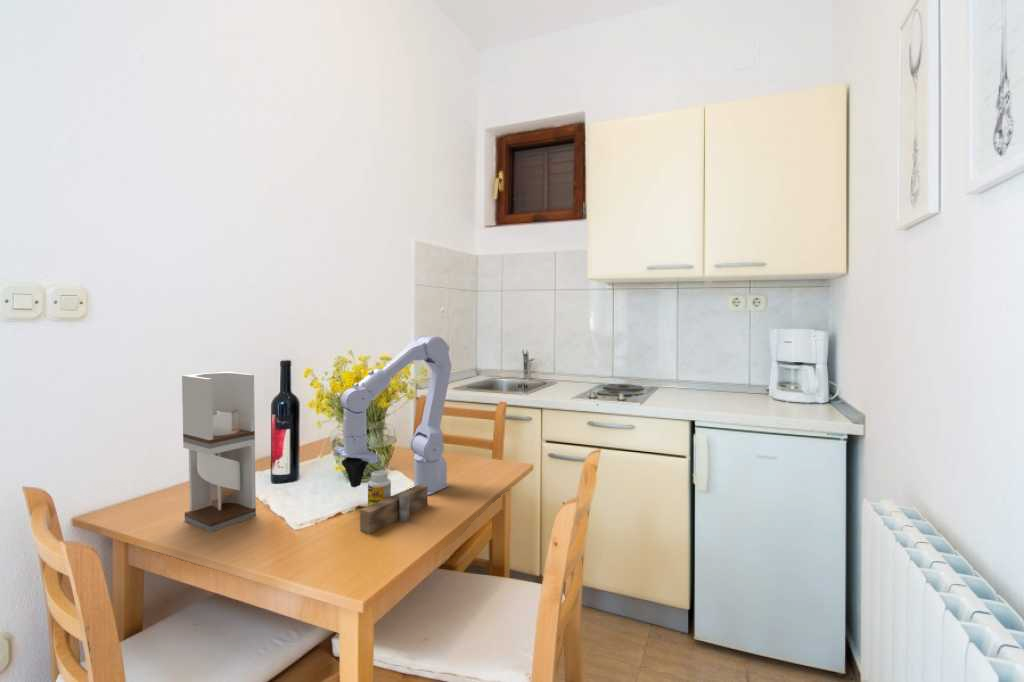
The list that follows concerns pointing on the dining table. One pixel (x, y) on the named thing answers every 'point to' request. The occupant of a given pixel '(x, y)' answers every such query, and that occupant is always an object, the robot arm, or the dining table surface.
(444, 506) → the dining table surface
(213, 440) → the white tower model
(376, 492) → the supplement bottle
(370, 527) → the stop bar
